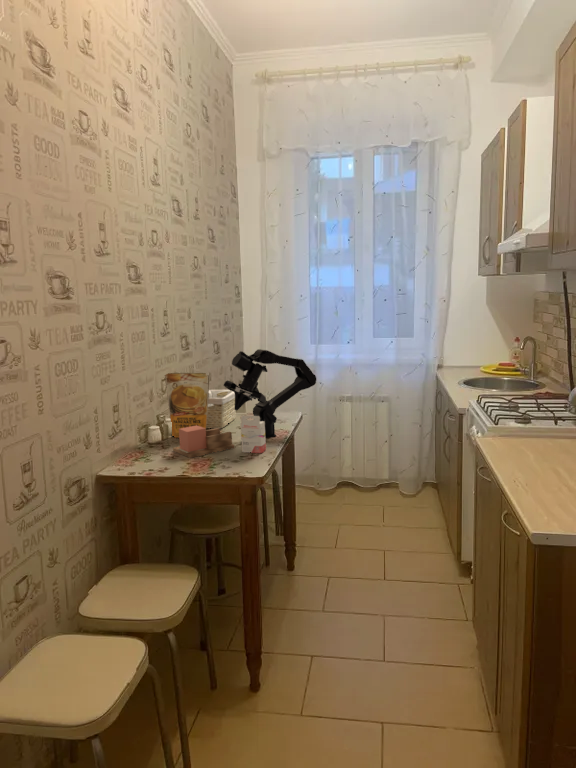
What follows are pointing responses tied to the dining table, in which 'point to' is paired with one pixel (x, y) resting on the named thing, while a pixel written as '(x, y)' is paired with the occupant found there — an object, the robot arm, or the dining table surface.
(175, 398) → the pancake mix bag
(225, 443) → the chute
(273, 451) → the dining table surface
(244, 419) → the ink cartridge box
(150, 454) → the dining table surface
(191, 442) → the block
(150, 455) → the dining table surface
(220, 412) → the storage basket
